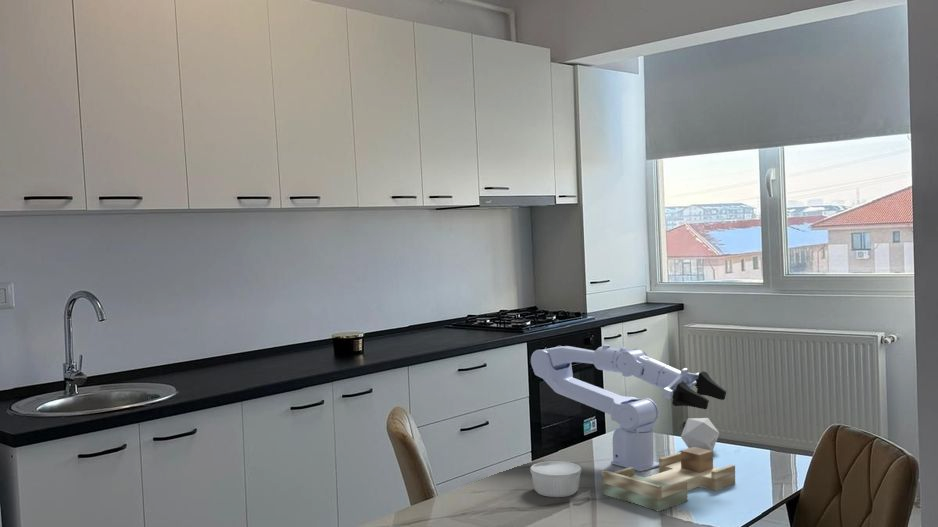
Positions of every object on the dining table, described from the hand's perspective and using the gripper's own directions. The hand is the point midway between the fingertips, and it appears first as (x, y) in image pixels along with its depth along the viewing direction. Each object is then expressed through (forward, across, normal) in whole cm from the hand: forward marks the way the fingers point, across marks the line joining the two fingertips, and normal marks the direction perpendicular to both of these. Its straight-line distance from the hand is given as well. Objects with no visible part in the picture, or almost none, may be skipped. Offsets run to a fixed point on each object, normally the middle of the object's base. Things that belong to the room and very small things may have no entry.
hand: (716, 400), depth 183 cm
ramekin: (-17, -30, +21) cm, 41 cm away
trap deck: (0, -13, +18) cm, 22 cm away
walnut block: (0, -3, +16) cm, 17 cm away
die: (-10, +19, +25) cm, 33 cm away
